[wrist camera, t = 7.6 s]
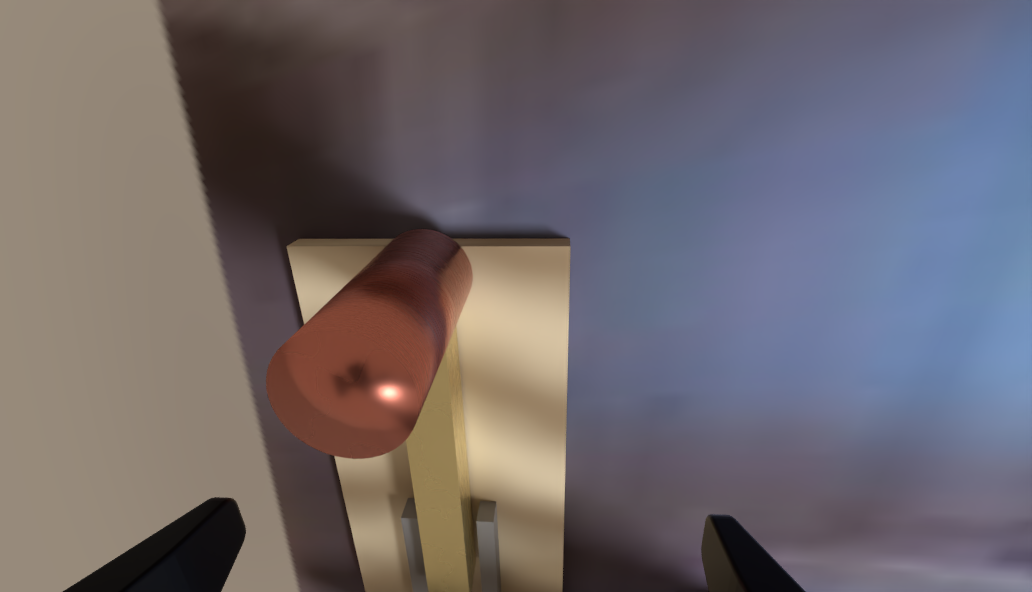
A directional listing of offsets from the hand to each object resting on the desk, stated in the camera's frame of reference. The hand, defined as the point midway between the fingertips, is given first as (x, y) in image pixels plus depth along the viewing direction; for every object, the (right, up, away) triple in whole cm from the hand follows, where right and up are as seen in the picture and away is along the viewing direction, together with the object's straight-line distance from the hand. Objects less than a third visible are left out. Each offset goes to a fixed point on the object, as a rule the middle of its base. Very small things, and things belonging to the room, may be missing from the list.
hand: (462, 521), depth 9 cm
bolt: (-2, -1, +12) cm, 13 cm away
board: (-2, -6, +15) cm, 17 cm away
